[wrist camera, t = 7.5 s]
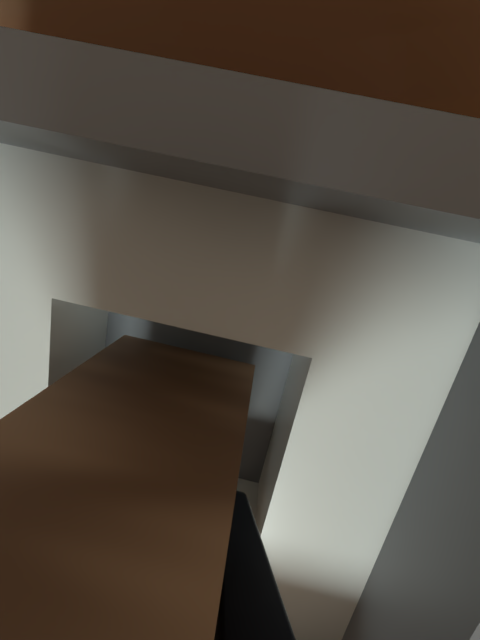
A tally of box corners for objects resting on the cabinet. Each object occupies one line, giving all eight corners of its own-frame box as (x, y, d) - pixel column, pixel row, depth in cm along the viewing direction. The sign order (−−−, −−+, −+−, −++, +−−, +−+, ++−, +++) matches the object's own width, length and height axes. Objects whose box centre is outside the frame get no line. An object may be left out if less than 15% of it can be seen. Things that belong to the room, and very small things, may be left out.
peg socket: (466, 218, 10) (849, 189, 3) (332, 566, 14) (384, 864, 8) (15, 125, 11) (-417, -55, 4) (12, 483, 15) (-202, 690, 8)
